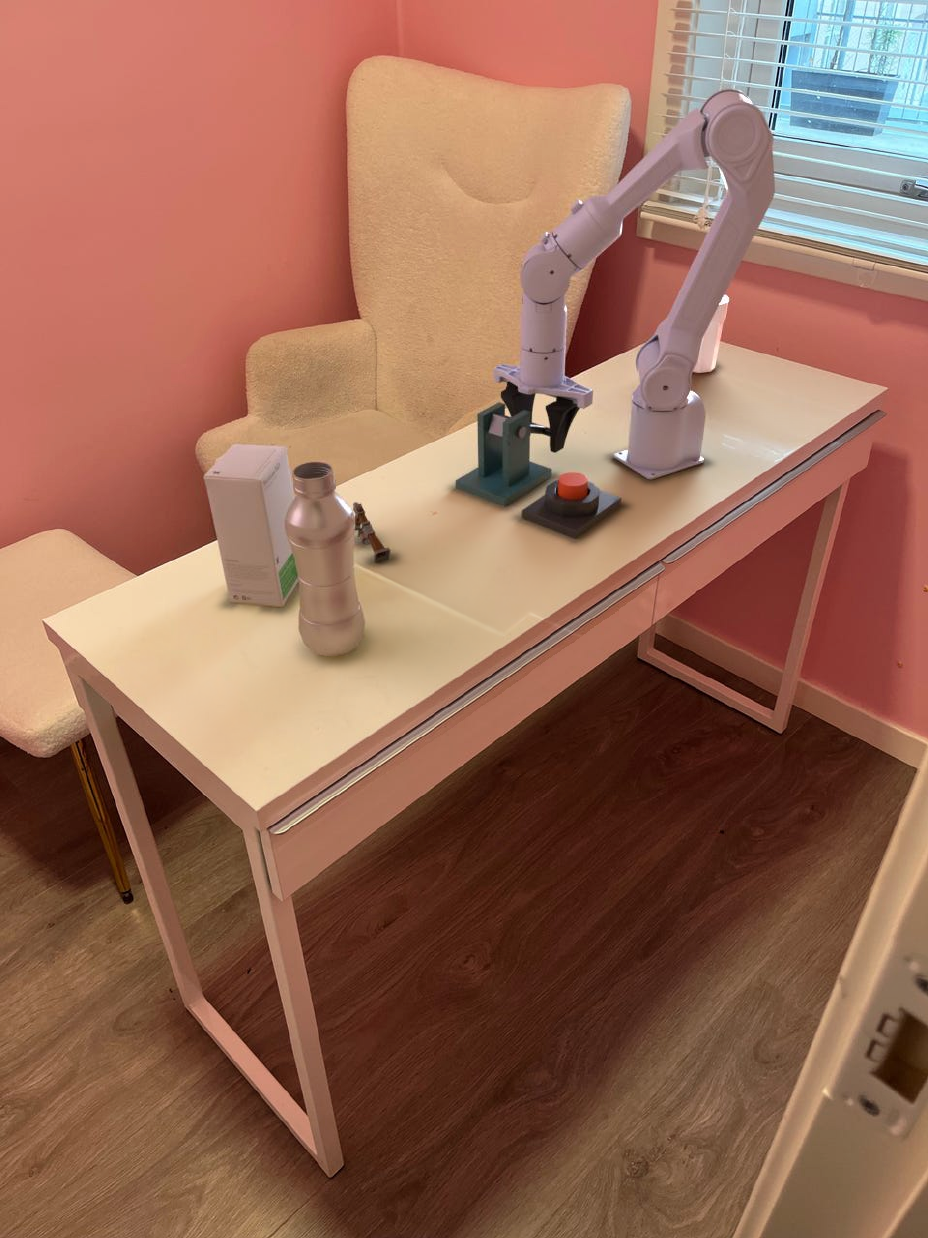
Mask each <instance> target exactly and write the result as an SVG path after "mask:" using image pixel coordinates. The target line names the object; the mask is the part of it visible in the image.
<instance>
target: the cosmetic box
mask: <svg viewBox="0 0 928 1238" xmlns="http://www.w3.org/2000/svg"><path fill="white" fill-rule="evenodd" d="M287 449H288V447H287V446H285V445H283V446H282V445H262V444H261V445H260V444H259V445H258V444H241V443H240V444H239V443H234V444H232V445H231V446H230V447H229V448H228V449H227V450H226V451H225V452H224V454H222V455H220V456H219V457H217V458H216V459H215V461H214V464H213V465H212V466H211V467H210V468H209V469H208V470H207V471H206V472H205V474H203V481H204V484H205V488H206V493H207V497H208V502H209V507H210V512H211V517H212V521H213V526H214V530H215V535H216V540H217V546H218V549H219V554H220V559H221V565H222V569H223V573H224V578H225V584H226V588H227V593H228V598H229V603H232V604H239V605H249V606H258V607H272V608H282V607H284V605H285V604H286V602H287V600H288V599H289V597H290V596H291V594H292V593H293V591H294V590H295V587H296V586H297V585H298V584H299V580H298V574H297V570H296V565H295V560H294V557H293V553H292V550H291V547H290V544H289V541H288V538H287V535H286V530H285V524H284V523H285V518H286V513H287V511H288V509H289V507H290V505H291V503H292V502H293V500H294V499H295V493H294V490H293V479H292V473H291V467H290V462H289V456H288V450H287Z"/></svg>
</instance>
